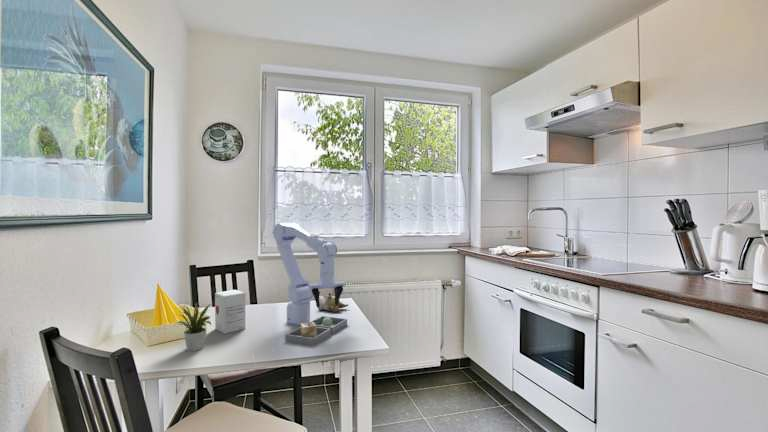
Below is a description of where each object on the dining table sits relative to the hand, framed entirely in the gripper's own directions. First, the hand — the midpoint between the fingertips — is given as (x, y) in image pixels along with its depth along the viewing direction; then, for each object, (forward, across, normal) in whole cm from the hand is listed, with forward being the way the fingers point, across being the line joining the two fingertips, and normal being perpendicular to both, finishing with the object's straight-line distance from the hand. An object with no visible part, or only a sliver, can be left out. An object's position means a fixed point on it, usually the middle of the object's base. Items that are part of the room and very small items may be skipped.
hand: (327, 305), depth 151 cm
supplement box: (+10, -36, +15) cm, 41 cm away
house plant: (+10, -49, -3) cm, 50 cm away
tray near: (+9, -10, -10) cm, 17 cm away
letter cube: (+9, -10, -10) cm, 16 cm away
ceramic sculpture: (+10, +8, +26) cm, 29 cm away
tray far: (+9, 0, 0) cm, 9 cm away
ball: (+9, 0, 0) cm, 9 cm away
